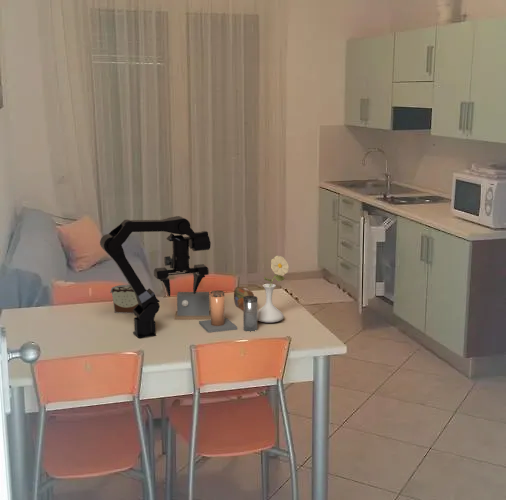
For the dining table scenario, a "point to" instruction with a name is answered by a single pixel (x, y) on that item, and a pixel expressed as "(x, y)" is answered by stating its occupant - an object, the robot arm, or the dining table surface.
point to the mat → (225, 327)
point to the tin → (241, 296)
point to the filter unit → (192, 305)
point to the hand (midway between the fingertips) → (181, 294)
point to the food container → (123, 299)
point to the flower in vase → (269, 310)
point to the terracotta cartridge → (217, 308)
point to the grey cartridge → (250, 313)
